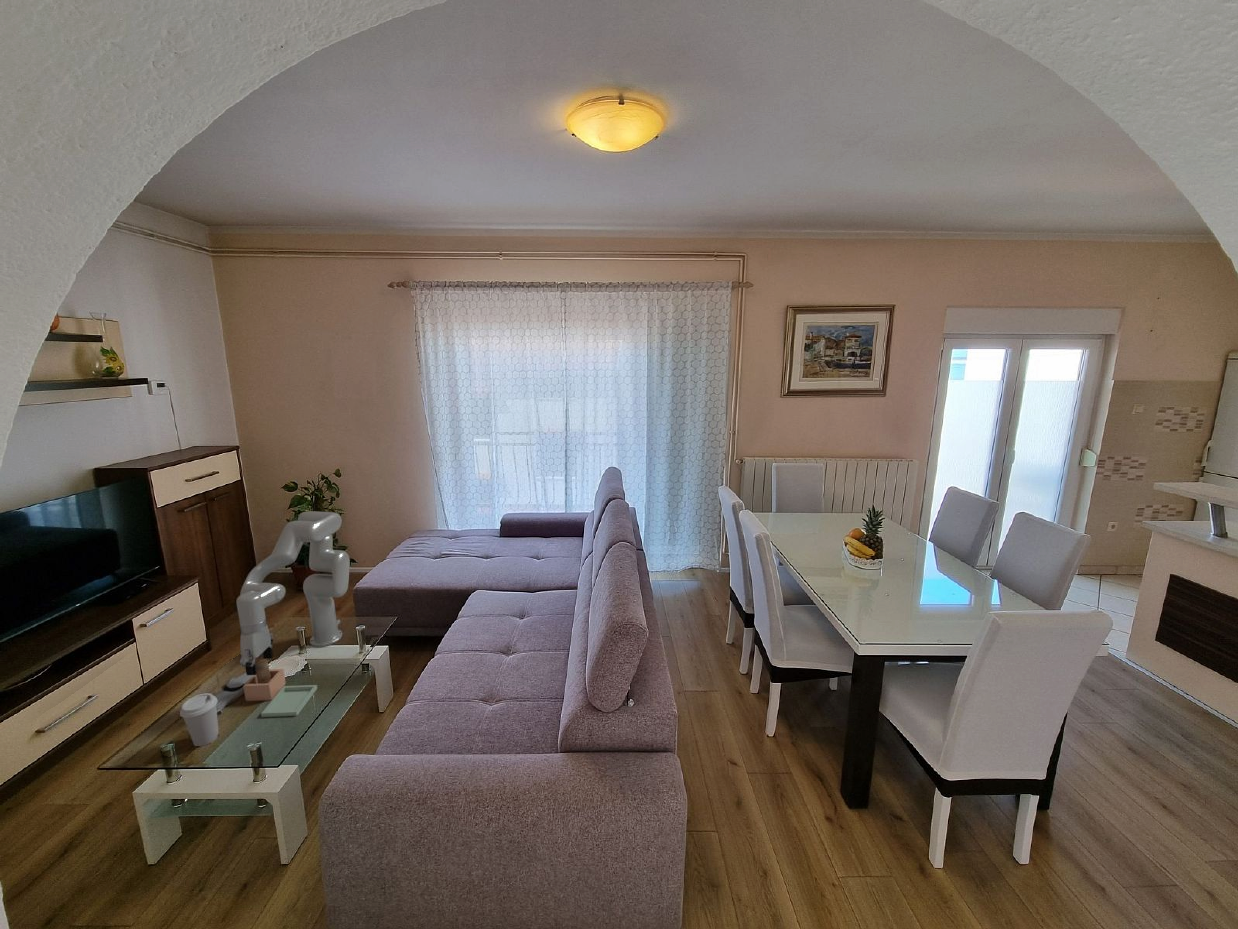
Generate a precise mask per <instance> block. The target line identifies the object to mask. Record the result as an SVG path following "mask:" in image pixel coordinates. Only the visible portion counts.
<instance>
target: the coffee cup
mask: <svg viewBox="0 0 1238 929" xmlns="http://www.w3.org/2000/svg"><path fill="white" fill-rule="evenodd" d="M217 702H218V700H217V698H216V697H215V695H213V694H212V693H209V692H207V693H206V692H205V693H201V694H197V695H194V696H193V697H190V698H188V699H186V701H185V702H184V703H183V704H182V705H181V708H180V710H179V716H180V717H182V718H183V720H184V723H185V726H186V728H187V730H188V733H189V735H190V738H191V741H192V743H193V746H195V747H197V746H201V747H204V746H208V745H210V744H212V743H214V741H216V740H217V738H218V737H219V734H220V733H219V722H218V713H217V709H216V704H217ZM209 743H210V744H209ZM207 744H208V745H207Z"/></svg>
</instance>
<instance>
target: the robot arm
mask: <svg viewBox="0 0 1238 929" xmlns="http://www.w3.org/2000/svg"><path fill="white" fill-rule="evenodd" d="M342 522H343V519H342V516H341V515H340V514H339V513H337V512H333V511H313V510H310V511H304V512H301V513H300V514H299V515H298V518H297V520H293V521H289V522H287V523H286V524H285V526H284V528H283V530H282V531H281V534H280V536H279V538H278V540H277V542H276V544H275V546H274V548H273V550H272V552H271V554H270V555H269V556H267V557H266V558H265V559H262V561H261V562H259V563H258V564H257V565H255V566H254V567H253V568H251V570H250V572H249V573H248V574H247V576H246V579H245V580H244V582H243V584H242V586H241V589H240V593H239V594H240V595H239V596H238V597H237V598H236V608H237V613H238V619H239V626H240V632H241V633H240V641H239V642H240V655H241V658H240V659H239V663H240V665H241V666H243V667H244V668H245V671H246V672H245V673H246V674H247V675H256V674H257V671H256V665H254V664H255V661H256V659H257V658H258V657H259V656H261V655H262V656H263V659H267V660H268V659H273V658H274V654H273V647H274V646H273V641H274V639H273V638H274V633H272V632H271V633H270V630H269V627H268V623H267V617H266V610H265V609H266V608H269V607H271V606H273V605H275V604H277V603H279V602H280V601H282V600H283V598H284V597H285V595H286V593H287V592H286V590H287V589H286V587H285V586H284V585H282V584H280V583H272V582H263V581H264V580H265V578H266V577H267V576H268V575H269V574H271V573H272V572H274V571H275V570H278V569H281V568H283V567H286V566H289V565H291V564H293V563H295V561H296V560H297V558H298V555H299V554H300V551H301V549H302V546H303V544H304V543H310V544H309V557H308V564H309V568H310V570H311V571H315V572H323V573H313V574H311V575H308V577H306V578H305V580H304V581H303V584H302V585H303V586H302V588H303V593H304V595H305V597H306V599H307V604H308V609H309V616H310V617H309V618H310V625H311V630H312V636H311V637H310V639H309V644H310V645H311V646H312V647H314V648H315V647H316V648H322V647H327V646H331V645H334V644H335V643H337V642H338V641H340V640H341V639H342V638H343V631H342V630H341V629H339V628H338V627H339V624H340V623H341V620H340V619H337V615H336V607H335V606H336V605H335V601H334V600H335V599H334V598H341V597H343V596H344V595H345V594H346V593H347V591H348V588H349V580H350V564H351V562H350V561H351V559H350V555H349V554H348V553H347V552H346V551H345V550H339V549H333V546H334V545H333V543H334V542H333V541H334V540H333V539H334V538H333V535H332V534H334V533H336V532H338V530H339V529H340V528H341V526H342V524H343V523H342ZM324 572H325V573H324ZM326 573H327V574H326ZM328 573H331V574H328ZM249 660H251V661H249Z"/></svg>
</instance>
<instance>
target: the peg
mask: <svg viewBox="0 0 1238 929" xmlns="http://www.w3.org/2000/svg"><path fill="white" fill-rule="evenodd" d="M254 665H256V671H257V674H256V676H257V681H258V684H264V683H269V681H270V680H271V677H270V671H269V670H270V667H269V661H268V659H264V658H262V659H259V660H257V661H256V662H254Z"/></svg>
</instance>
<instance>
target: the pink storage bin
mask: <svg viewBox="0 0 1238 929" xmlns="http://www.w3.org/2000/svg"><path fill="white" fill-rule="evenodd" d="M269 671H270V677H271V680H270V681H269V683H264V684H258V681H257V676H256V675H253V676H252V677H251V678H250V679H249V680H248V681H247V682H246V684H245V685H244V686H243V688H244V693H243V694H244V697H245V701H246V702H254V701H255V702H257V701H258V702H259V701H272V700H273V699H274V697H275V696H276V695H277V694H278V693H279V691H280V690H281V689H282V688H283V687H284V686H286V682H287V681H286V678H285V671H284V668H276V669H274V668H273V669H270V668H269Z"/></svg>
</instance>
